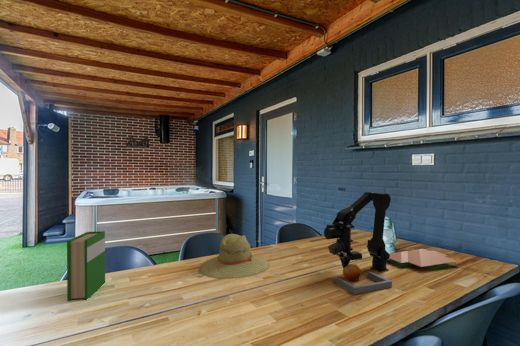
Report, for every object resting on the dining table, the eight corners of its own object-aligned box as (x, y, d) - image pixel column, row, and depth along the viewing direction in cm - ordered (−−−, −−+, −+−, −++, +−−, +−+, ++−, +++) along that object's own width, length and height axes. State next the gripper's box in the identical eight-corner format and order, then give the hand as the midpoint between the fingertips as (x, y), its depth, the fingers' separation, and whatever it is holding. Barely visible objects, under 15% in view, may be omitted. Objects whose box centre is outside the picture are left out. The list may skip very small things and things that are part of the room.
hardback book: (87, 300, 113) (87, 240, 113) (67, 301, 112) (66, 240, 112) (105, 283, 131) (104, 231, 131) (87, 284, 130) (87, 231, 130)
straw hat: (280, 260, 165) (280, 230, 165) (249, 285, 128) (249, 247, 128) (225, 253, 180) (224, 226, 180) (183, 273, 144) (183, 240, 144)
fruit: (366, 280, 129) (356, 264, 129) (350, 287, 130) (341, 272, 131) (363, 273, 136) (354, 259, 137) (348, 281, 138) (340, 266, 139)
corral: (369, 276, 137) (369, 271, 137) (391, 286, 124) (391, 281, 124) (334, 282, 130) (334, 277, 130) (354, 294, 117) (354, 288, 117)
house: (461, 266, 151) (461, 251, 151) (414, 274, 141) (414, 257, 141) (424, 255, 173) (424, 241, 173) (381, 260, 162) (380, 246, 162)
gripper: (320, 234, 144) (320, 265, 145) (342, 243, 127) (342, 278, 127) (338, 232, 148) (338, 262, 148) (363, 241, 131) (362, 274, 131)
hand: (344, 269), depth 139 cm, fingers closed
